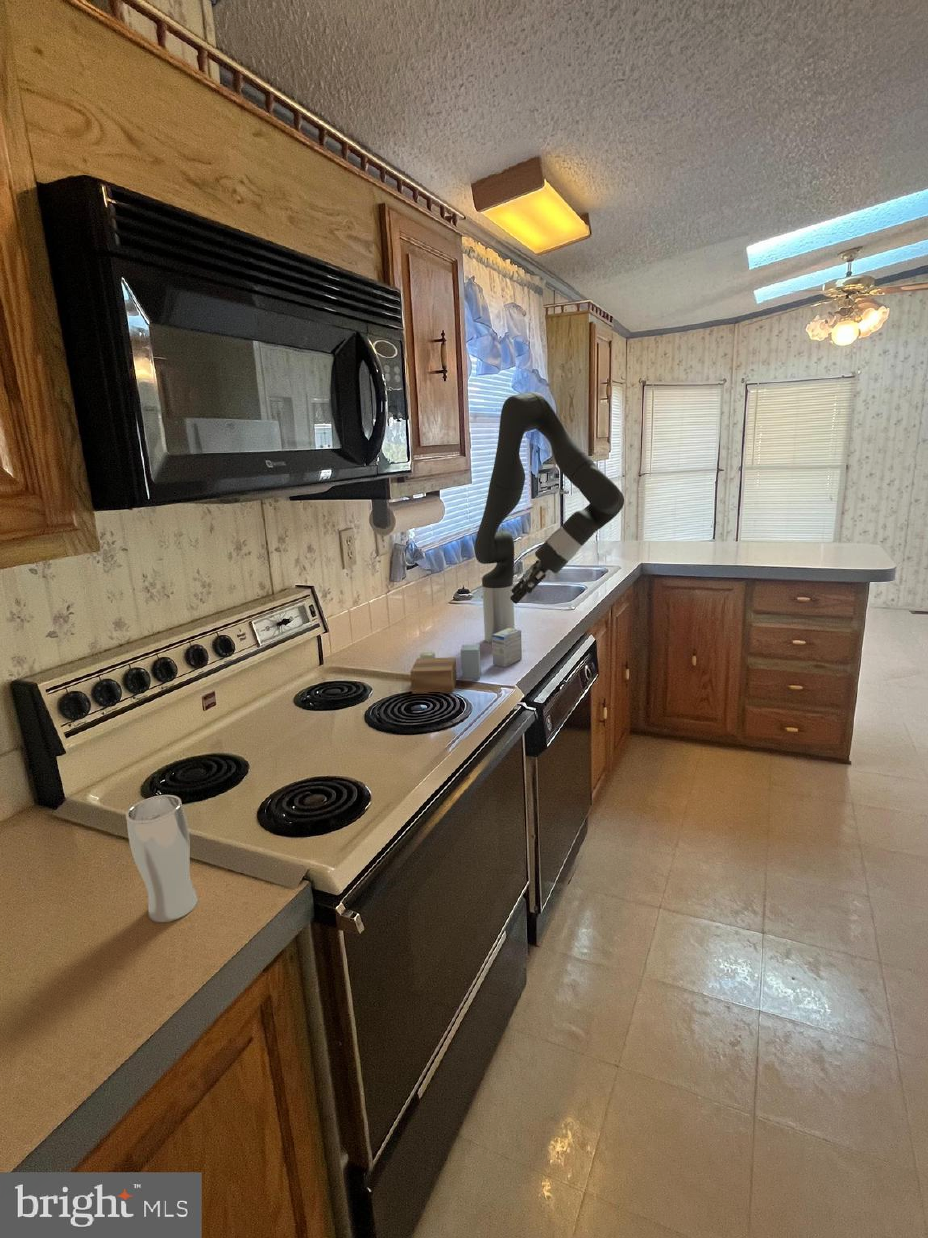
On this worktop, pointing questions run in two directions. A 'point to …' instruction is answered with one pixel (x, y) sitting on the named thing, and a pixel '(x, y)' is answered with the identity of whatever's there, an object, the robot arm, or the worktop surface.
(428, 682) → the walnut block
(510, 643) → the medicine box
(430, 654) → the pale small block
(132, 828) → the beer glass
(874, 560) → the worktop surface
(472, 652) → the slate-blue block
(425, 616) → the worktop surface
